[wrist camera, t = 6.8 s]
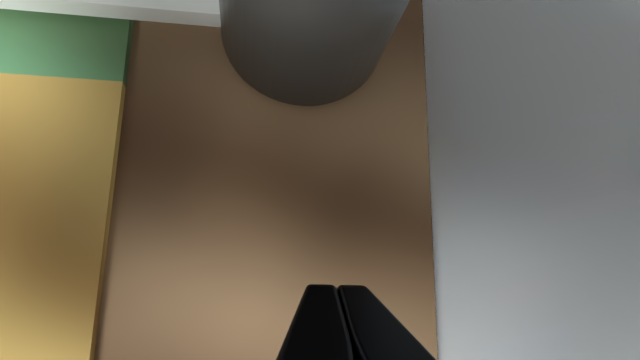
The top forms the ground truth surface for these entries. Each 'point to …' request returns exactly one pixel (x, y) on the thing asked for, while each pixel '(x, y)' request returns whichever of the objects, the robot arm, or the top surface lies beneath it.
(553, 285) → the top surface
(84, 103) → the tuner board
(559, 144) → the top surface
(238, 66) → the peg
